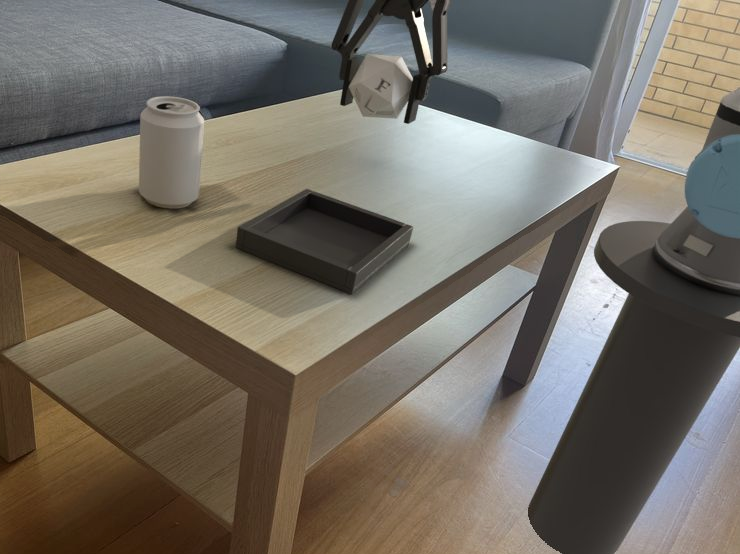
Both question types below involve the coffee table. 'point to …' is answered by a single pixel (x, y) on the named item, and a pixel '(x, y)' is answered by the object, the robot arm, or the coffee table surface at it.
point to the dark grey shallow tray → (325, 239)
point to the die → (381, 86)
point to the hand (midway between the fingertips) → (377, 112)
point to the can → (170, 151)
